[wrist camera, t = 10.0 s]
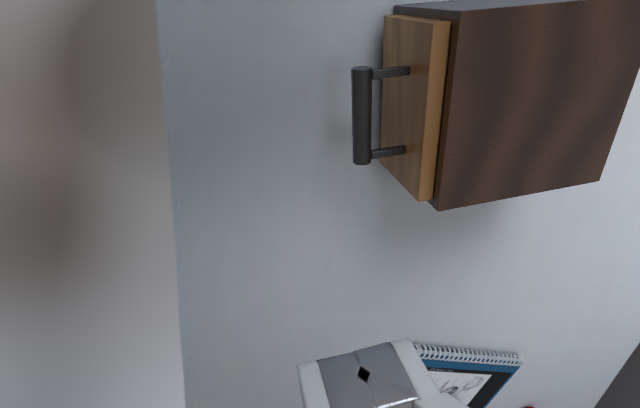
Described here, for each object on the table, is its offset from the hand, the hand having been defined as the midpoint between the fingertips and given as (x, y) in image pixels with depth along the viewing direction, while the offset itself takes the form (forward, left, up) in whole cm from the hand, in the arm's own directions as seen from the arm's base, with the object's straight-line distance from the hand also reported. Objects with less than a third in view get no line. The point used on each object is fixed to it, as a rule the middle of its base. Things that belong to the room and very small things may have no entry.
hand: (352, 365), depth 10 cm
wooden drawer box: (+19, 0, -25) cm, 31 cm away
